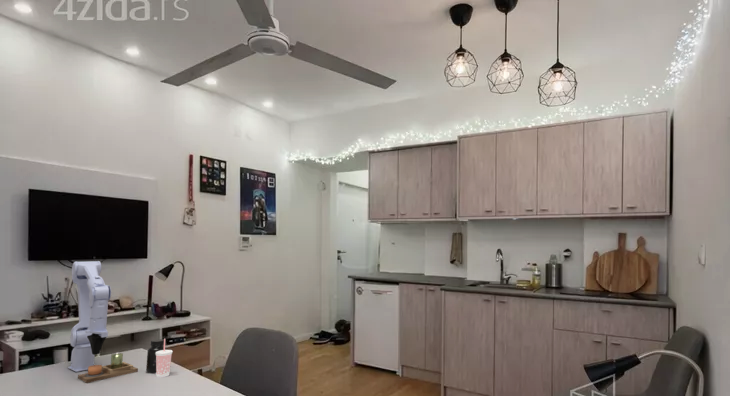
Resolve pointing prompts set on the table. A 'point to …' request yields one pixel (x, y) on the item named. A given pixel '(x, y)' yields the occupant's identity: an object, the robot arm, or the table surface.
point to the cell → (116, 360)
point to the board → (108, 373)
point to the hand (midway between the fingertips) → (95, 353)
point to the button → (94, 369)
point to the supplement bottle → (153, 354)
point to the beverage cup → (163, 362)
